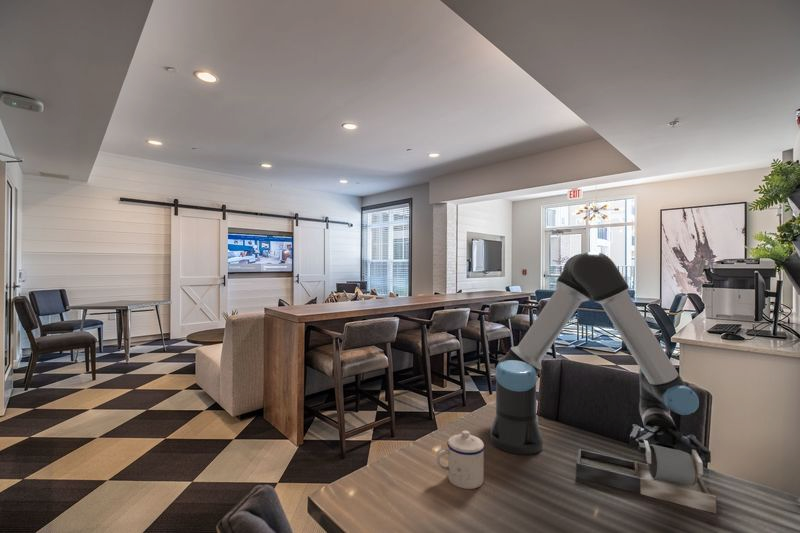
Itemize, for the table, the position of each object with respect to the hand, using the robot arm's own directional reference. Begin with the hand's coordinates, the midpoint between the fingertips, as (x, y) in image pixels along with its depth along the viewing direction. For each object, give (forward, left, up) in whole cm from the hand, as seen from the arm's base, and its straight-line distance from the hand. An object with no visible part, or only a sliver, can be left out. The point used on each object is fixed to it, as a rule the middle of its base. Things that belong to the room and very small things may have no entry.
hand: (674, 462), depth 80 cm
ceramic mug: (-1, +5, -6) cm, 8 cm away
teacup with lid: (-45, -18, -8) cm, 49 cm away
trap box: (-7, +5, -8) cm, 11 cm away
